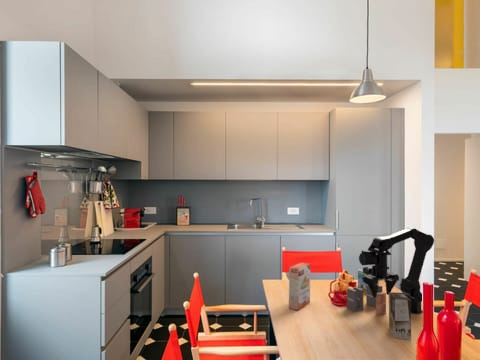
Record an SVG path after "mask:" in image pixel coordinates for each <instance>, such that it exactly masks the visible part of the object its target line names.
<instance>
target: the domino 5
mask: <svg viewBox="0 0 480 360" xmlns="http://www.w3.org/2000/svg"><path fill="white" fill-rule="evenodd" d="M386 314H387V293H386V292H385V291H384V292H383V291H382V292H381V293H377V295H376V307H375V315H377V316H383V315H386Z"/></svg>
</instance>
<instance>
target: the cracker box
mask: <svg viewBox="0 0 480 360" xmlns="http://www.w3.org/2000/svg"><path fill="white" fill-rule="evenodd" d="M288 270H289V271H288V274H289V275H288V309H292V310H294V311H295V310H296V311H300V310H301V309H303V308H304V307H306V306H307V305H308V304H310V303H311V264H310V263H306V262H299V263H297V264H294V265H291V266H289V269H288Z"/></svg>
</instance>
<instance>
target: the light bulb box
mask: <svg viewBox="0 0 480 360" xmlns="http://www.w3.org/2000/svg"><path fill="white" fill-rule="evenodd" d="M364 276H366V274H364V273H363V268H361V269H360V268H359V269H357V287H358V288H361V289H363V290H366V285H367V284H365V283H364V282H363V277H364ZM367 276H372V275H367ZM372 277H375V276H372ZM379 283H380V281H378V285H380V284H379Z"/></svg>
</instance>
